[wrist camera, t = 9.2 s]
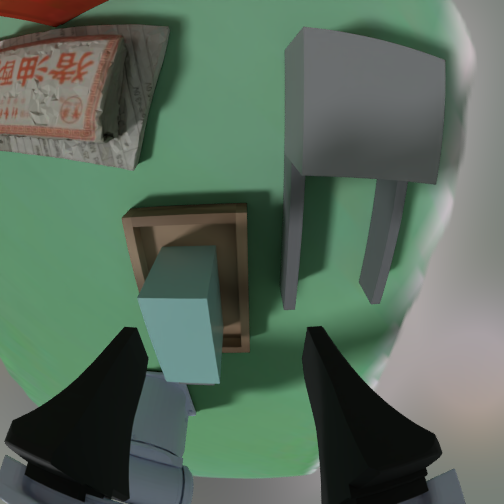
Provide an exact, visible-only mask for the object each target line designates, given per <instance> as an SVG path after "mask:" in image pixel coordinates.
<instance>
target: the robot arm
mask: <svg viewBox="0 0 504 504" xmlns="http://www.w3.org/2000/svg"><path fill="white" fill-rule="evenodd" d="M302 363H303V371H304V379H305V383H306V388H307V392H308V396H309V400H310V404H311V408H312V412H313V416H314V420H315V426H316V431H317V440H318V449H319V460H320V473H321V499H322V500H321V501H322V504H466V503H465V500H464V497H463V493H462V490H461V486H460V483H459V480H458V477H457V474H456V471H455V469H452V470H450V471H447V472H446V473H443V474H441V475H439V476H436V477H434V478H432V479H430V480H428V481H426V479H425V476H426V475H427V474H428V473H427V470H426V467H427V466H429V465H430V464H432V463H433V462H434V461H436V460H437V459H438V458H439V457H440V456H441V455H442V450H441V447H440V444H439V442H438V440H437V438H436V436H435V434H434V433H431V432H430V431H428V430H426V429H424V428H423V427H421V426H419V425H417V424H415V423H414V422H412V421H411V420H409V419H408V418H406V417H405V416H403V415H402V414H400V413H399V412H398V411H397V410H395V409H394V408H393V407H391V406H390V405H389V404H388V403H386V402H385V401H384V400H383V399H382V398H381V397H380V396H379V395H377V394H376V393H375V392H374V391H373V390H372V389H371V388H370V387H369V386H368V385H367V384H366V383H365V382H364V381H363V379H362V378H361V377H360V376H359V375H358V374H357V373H356V372H355V370H354V369H353V368H352V367H351V366H350V364H349V363H348V362H347V360H346V359H345V358H344V357H343V355H342V354H341V353H340V351H339V350H338V349H337V347H336V346H335V344H334V343H333V341H332V340H331V339H330V337H329V336H328V334H327V332H326V331H325V329H324V328H323V327H322V326H316V327H307V332H306V338H305V344H304V350H303V356H302ZM147 365H148V356H147V353H146V351H145V348H144V346H143V343H142V340H141V338H140V335H139V332H138V329H137V328H134V327H124V328H123V329H122V330H121V331H120V332H119V334H118V335H117V336H116V337H115V338H114V339H113V340H112V341H111V343H110V344H109V345H108V346H107V347H106V348H105V350H104V351H103V352H102V353H101V354H100V355H99V356H98V357H97V358H96V360H95V361H94V362H93V363H92V364H91V365H90V366H89V367H88V368H87V369H86V370H85V371H84V372H83V373H82V374H81V375H80V376H79V377H78V378H77V379H76V380H75V381H74V382H72V383H71V384H70V385H69V386H68V387H67V388H65V389H64V390H63V391H62V392H60V393H59V394H58V395H56V396H55V397H53V398H52V399H51V400H49V401H48V402H46V403H45V404H43V405H42V406H40V407H38V408H37V409H35V410H33V411H31V412H30V413H28V414H25V415H23V416H21V417H19V418H17V419H15V420H13V421H12V424H11V426H10V428H9V431H8V433H7V436H6V439H5V444H6V445H7V446H8V447H9V448H10V449H11V450H13V451H14V452H15V453H17V454H18V455H19V456H20V457H22V458H23V459H25V460H26V461H27V462H28V464H27V466H25V465H24V464H22V463H20V462H18V461H16V460H15V459H13V458H11V457H9V456H8V455H5V457H4V460H3V463H2V466H1V470H0V499H2V500H3V501H4V502H6V503H7V504H123V503H119V502H116V501H113V500H111V499H115V500H118V501H121V502H125V503H128V504H191V500H192V496H193V476H192V473H191V472H190V470H189V468H188V467H187V466H184V465H182V464H183V458H181V457H182V456H183V454H184V450H185V441H186V432H187V423H188V416H195V415H196V411H195V408H194V405H193V402H192V399H191V396H190V393H189V390H188V387H187V384H179V382H167V381H166V379H165V377H164V374H163V372H151V371H147Z"/></svg>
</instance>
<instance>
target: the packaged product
mask: <svg viewBox="0 0 504 504" xmlns="http://www.w3.org/2000/svg"><path fill="white" fill-rule="evenodd" d="M169 33H170V29H169V27H168V26H151V25H138V24H125V25H94V26H80V27H71V28H61V29H54V30H49V31H46V32H44V33H42V32H38V33H33V34H27V35H23V36H19V37H15V38H11V39H6V40H3V41H0V151H9V152H18V153H23V154H33V155H40V156H49V157H55V158H65V159H70V160H75V161H81V162H88V163H93V164H99V165H105V166H113V167H118V168H123V169H127V170H134V169H135V168H136V166H137V165H138V162H139V158H140V153H141V148H142V143H143V138H144V132H145V127H146V123H147V117H148V113H149V109H150V105H151V102H152V98H153V94H154V90H155V87H156V83H157V80H158V76H159V73H160V70H161V66H162V63H163V60H164V56H165V52H166V47H167V42H168V38H169Z"/></svg>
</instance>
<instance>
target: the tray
mask: <svg viewBox="0 0 504 504" xmlns="http://www.w3.org/2000/svg"><path fill="white" fill-rule="evenodd" d="M122 223H123V228H124V232H125V237H126V242H127V246H128V250H129V255H130V259H131V263H132V267H133V271H134V275H135V279H136V282H137V286H138V290H139V293H140V291H141V289H142V287H143V285H144V282H145V280H146V278H147V276H148V274H149V272H150V270H151V268H152V266H153V264H154V262H155V260H156V258H157V256H158V254H159V252H160V250H161V248H162V247H171V246H210V245H216V252H217V264H218V275H219V286H220V297H221V307H222V317H223V326H224V329H223V343H222V353H241V352H250V337H249V293H248V246H247V203H227V204H198V205H177V206H159V207H143V208H131V209H130V210H129V211H128V212H127V213H126V214H125V215H124V216H123V217H122Z"/></svg>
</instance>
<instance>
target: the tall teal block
mask: <svg viewBox="0 0 504 504" xmlns="http://www.w3.org/2000/svg"><path fill="white" fill-rule="evenodd" d="M137 299H138V302H139V305H140V308H141V312H142V315H143V318H144V321H145V324H146V327H147V330H148V333H149V336H150V339H151V342H152V345H153V347H154V350H155V353H156V356H157V358H158V361H159V364H160V366H161V369H162V372H163V374H164V377H165V379H166V381H167V382H179V384H191V385H214V384H220V374H221V358H222V343H223V329H224V326H223V317H222V307H221V297H220V286H219V275H218V264H217V252H216V245H210V246H171V247H162V248H161V250H160V252H159V254H158V256H157V258H156V260H155V262H154V264H153V266H152V268H151V270H150V272H149V274H148V276H147V278H146V280H145V282H144V285H143V287H142V289H141V291H140V293H139V295H138V298H137Z"/></svg>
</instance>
